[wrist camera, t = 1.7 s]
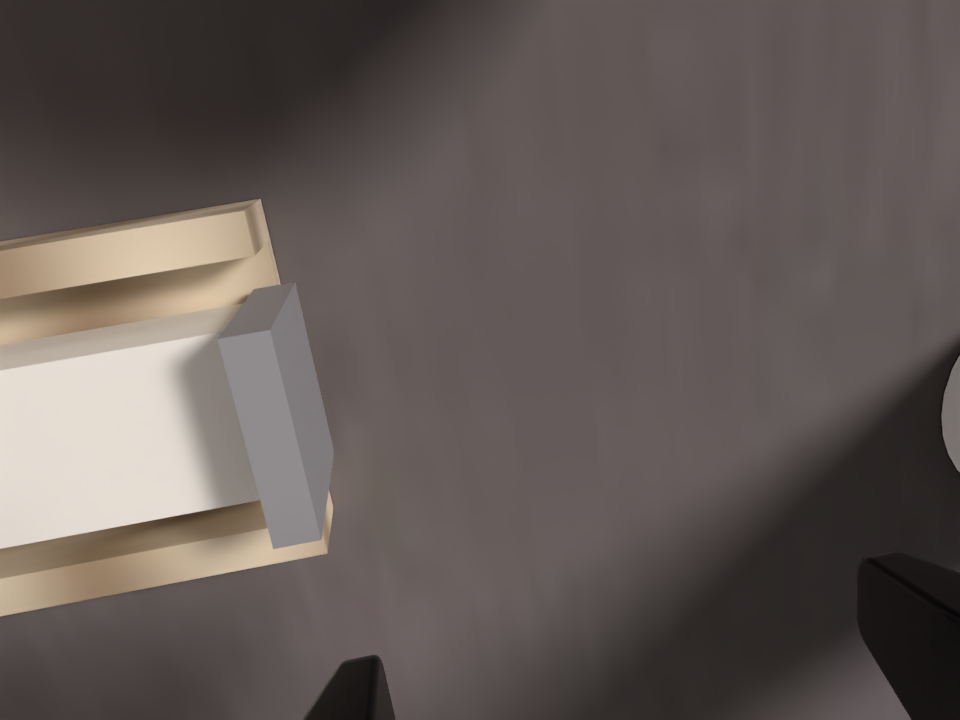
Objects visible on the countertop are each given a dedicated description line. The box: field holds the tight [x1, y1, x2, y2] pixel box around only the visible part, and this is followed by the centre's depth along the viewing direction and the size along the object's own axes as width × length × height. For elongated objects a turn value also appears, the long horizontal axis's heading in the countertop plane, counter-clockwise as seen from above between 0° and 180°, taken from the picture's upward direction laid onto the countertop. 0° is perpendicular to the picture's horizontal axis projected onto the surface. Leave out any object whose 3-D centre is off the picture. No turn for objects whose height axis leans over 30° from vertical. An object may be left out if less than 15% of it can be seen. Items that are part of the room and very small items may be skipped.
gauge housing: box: [0, 199, 333, 616], centre depth 19 cm, size 10×9×2 cm
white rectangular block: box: [0, 282, 334, 549], centre depth 18 cm, size 9×5×4 cm, turn 99°
